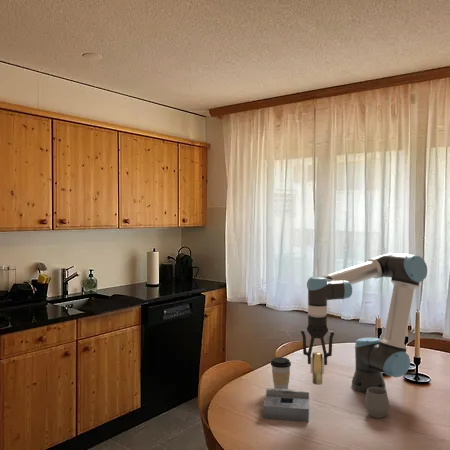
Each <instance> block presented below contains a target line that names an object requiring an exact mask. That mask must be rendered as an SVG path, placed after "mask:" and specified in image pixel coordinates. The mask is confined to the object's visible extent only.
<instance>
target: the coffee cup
mask: <svg viewBox="0 0 450 450" xmlns="http://www.w3.org/2000/svg"><path fill="white" fill-rule="evenodd" d="M270 366H271V368H272V369H271V371H272V382H273V388H276V389H289V384H290V374H291V366H292V362H291V361H290V359H289V358H288V357H273V358H272V359H271V361H270Z"/></svg>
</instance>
